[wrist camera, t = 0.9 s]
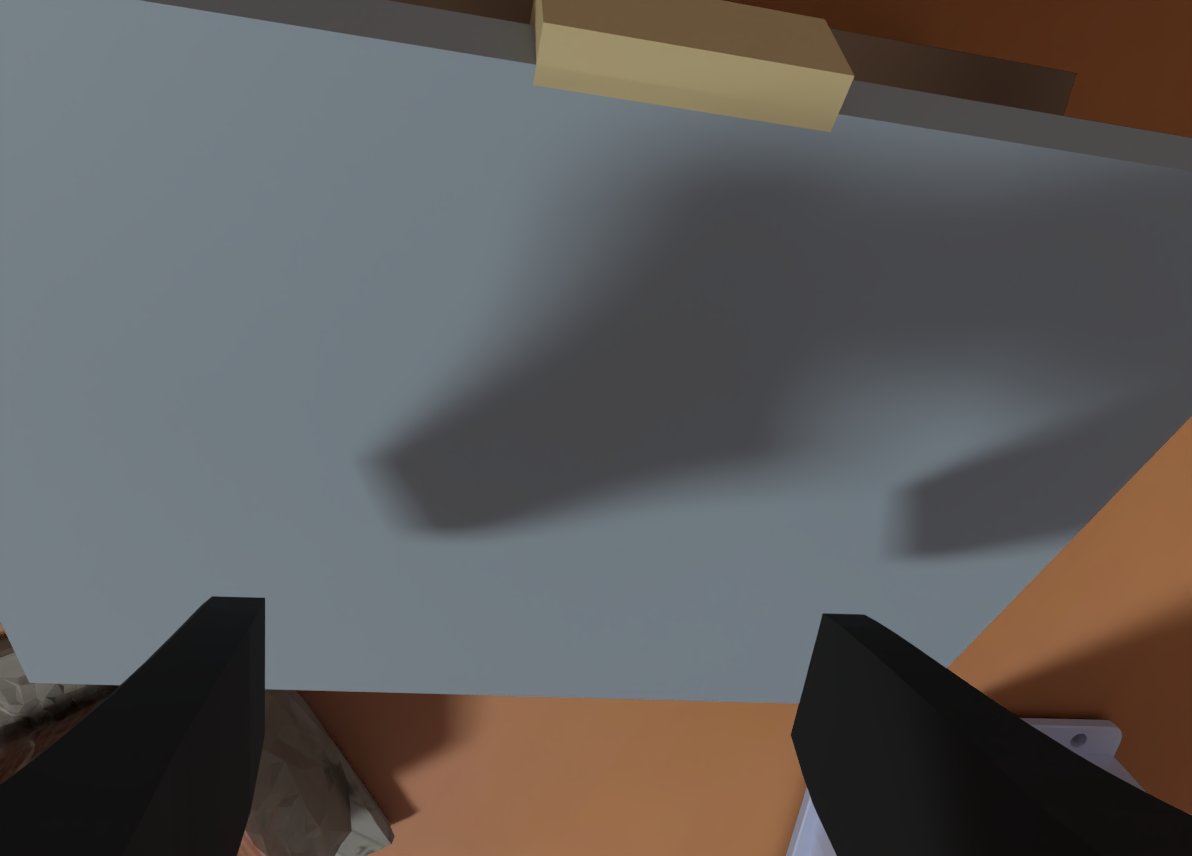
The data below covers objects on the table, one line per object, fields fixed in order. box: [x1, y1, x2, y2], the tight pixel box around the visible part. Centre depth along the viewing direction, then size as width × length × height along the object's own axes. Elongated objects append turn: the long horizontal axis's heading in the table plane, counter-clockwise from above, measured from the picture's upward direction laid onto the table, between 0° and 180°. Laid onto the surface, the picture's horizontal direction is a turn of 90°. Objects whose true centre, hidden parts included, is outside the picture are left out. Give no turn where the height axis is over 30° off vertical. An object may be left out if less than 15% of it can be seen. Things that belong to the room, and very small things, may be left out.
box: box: [389, 0, 1077, 116], centre depth 18 cm, size 16×12×5 cm
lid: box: [0, 0, 1192, 704], centre depth 14 cm, size 17×13×1 cm
